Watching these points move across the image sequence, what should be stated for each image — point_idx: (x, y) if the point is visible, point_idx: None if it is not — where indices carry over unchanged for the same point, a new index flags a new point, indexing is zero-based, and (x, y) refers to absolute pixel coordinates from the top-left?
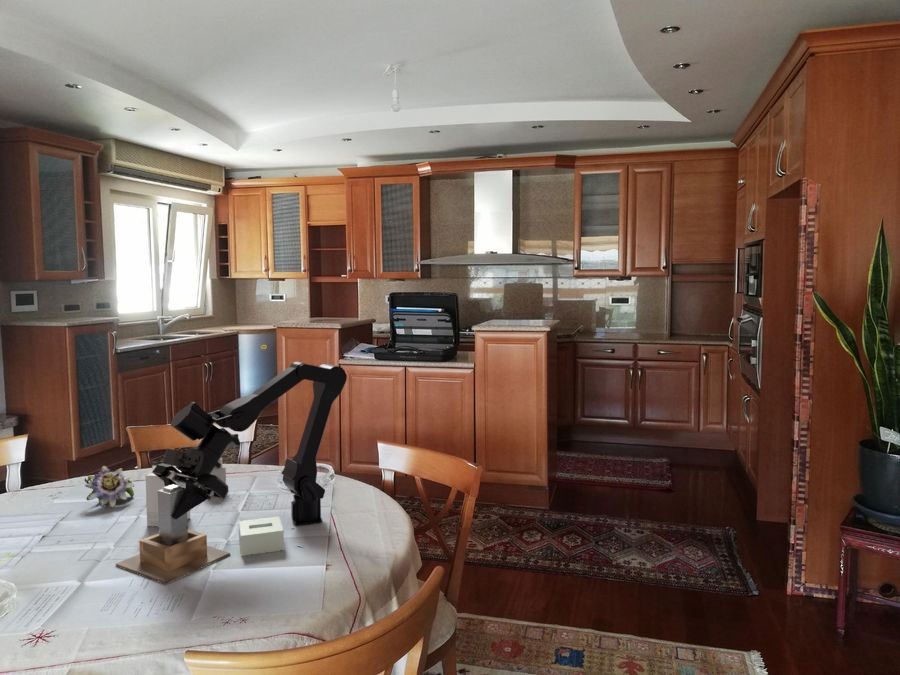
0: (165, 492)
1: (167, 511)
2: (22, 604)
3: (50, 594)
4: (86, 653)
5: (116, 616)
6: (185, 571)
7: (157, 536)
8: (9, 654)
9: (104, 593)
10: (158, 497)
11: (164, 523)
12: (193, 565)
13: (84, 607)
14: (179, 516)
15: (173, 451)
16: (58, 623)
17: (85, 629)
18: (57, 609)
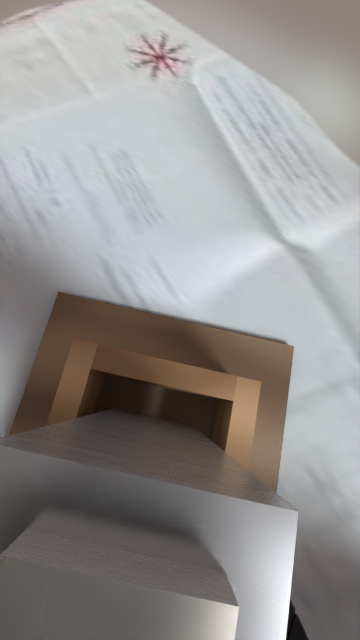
0: (99, 475)
1: (111, 428)
2: (310, 133)
3: (298, 178)
4: (27, 36)
5: (70, 141)
6: (40, 369)
7: (225, 450)
8: (160, 13)
9: (183, 213)
10: (244, 476)
11: (154, 426)
12: (41, 417)
13: (172, 153)
14: None
15: None
16: (168, 96)
17: (95, 91)
18: (221, 134)
